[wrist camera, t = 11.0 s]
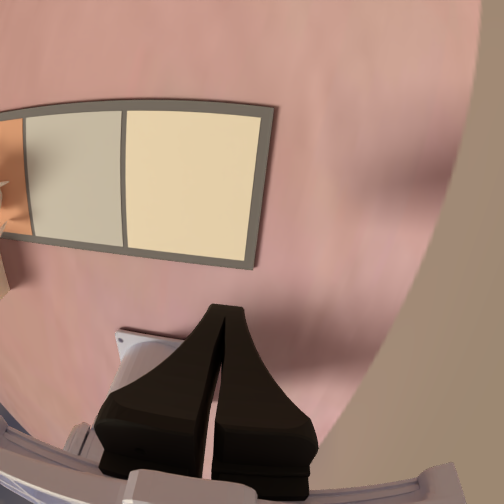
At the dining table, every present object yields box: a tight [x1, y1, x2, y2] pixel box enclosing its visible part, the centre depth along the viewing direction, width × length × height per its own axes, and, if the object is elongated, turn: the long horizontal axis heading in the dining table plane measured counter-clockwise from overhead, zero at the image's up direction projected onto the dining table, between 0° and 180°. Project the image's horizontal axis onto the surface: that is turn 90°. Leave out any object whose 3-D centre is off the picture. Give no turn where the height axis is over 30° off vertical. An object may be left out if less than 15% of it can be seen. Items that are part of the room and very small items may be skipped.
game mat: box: [0, 100, 274, 270], centre depth 20 cm, size 11×27×1 cm, turn 84°
